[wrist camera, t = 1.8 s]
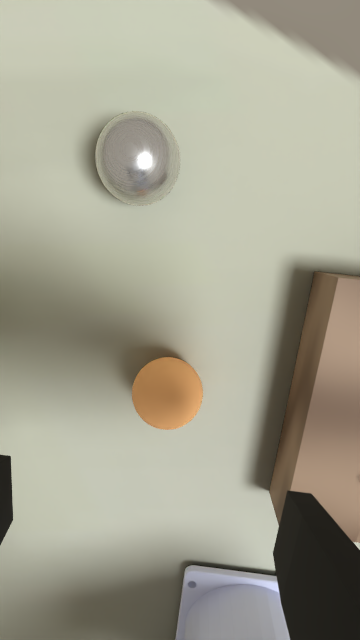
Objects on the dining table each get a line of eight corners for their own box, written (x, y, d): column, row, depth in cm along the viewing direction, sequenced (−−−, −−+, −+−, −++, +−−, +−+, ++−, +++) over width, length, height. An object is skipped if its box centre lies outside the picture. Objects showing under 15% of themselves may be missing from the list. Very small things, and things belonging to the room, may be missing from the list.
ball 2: (198, 409, 16) (198, 449, 13) (136, 402, 16) (122, 440, 13) (205, 351, 16) (208, 379, 12) (141, 344, 16) (127, 369, 12)
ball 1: (178, 212, 14) (172, 204, 11) (106, 205, 14) (81, 195, 11) (185, 132, 13) (182, 99, 10) (110, 125, 13) (83, 90, 10)
